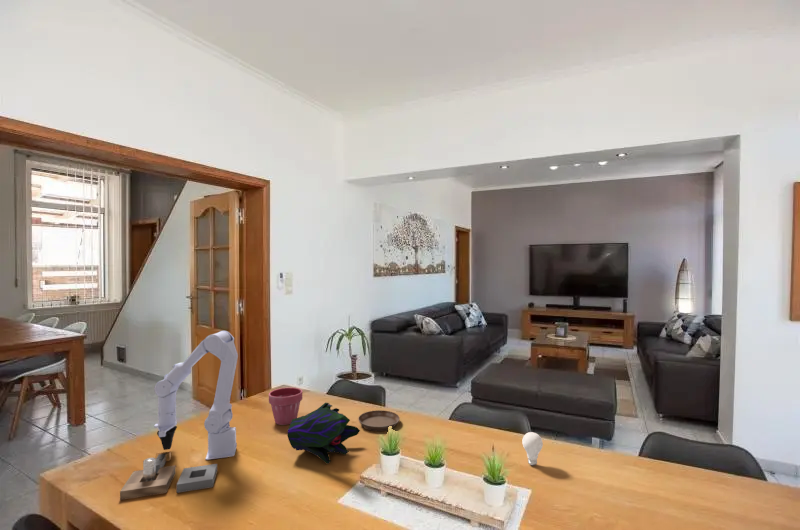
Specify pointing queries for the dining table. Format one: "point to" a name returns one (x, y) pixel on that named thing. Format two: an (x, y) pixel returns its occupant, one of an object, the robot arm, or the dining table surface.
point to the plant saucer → (378, 420)
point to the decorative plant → (321, 432)
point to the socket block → (147, 483)
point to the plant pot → (285, 404)
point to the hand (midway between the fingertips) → (167, 448)
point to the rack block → (197, 478)
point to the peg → (149, 470)
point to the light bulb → (532, 446)
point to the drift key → (161, 460)
